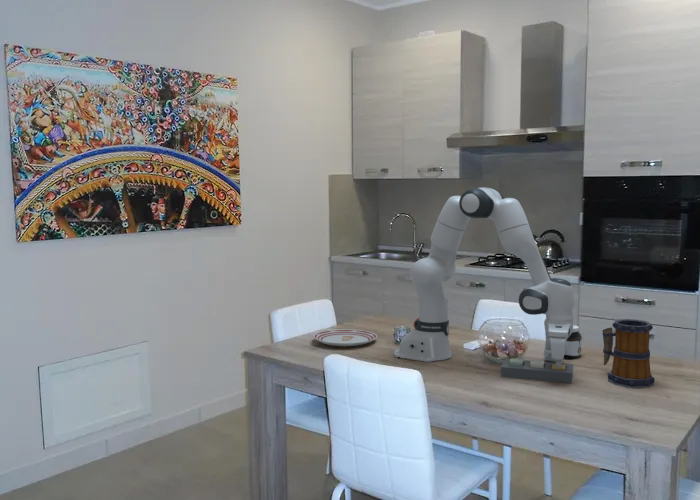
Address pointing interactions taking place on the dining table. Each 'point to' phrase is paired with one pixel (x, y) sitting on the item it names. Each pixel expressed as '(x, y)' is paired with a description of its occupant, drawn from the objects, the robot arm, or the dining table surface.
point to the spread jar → (573, 344)
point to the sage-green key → (516, 362)
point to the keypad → (537, 372)
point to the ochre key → (558, 367)
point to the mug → (629, 353)
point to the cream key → (537, 364)
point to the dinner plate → (336, 335)
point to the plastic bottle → (547, 347)
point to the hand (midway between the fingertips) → (558, 366)
